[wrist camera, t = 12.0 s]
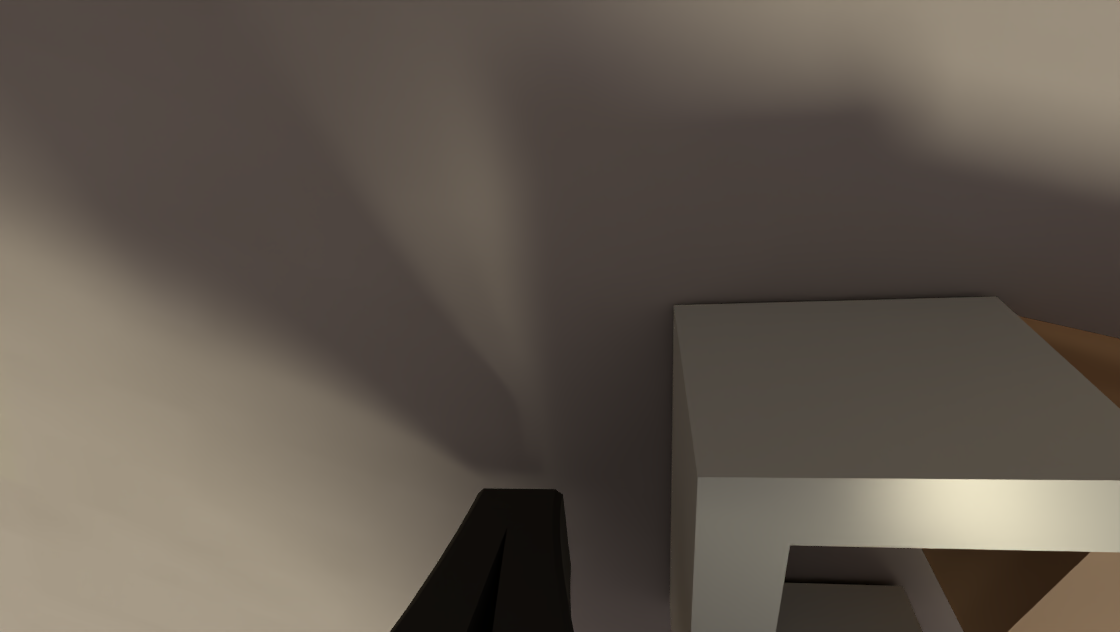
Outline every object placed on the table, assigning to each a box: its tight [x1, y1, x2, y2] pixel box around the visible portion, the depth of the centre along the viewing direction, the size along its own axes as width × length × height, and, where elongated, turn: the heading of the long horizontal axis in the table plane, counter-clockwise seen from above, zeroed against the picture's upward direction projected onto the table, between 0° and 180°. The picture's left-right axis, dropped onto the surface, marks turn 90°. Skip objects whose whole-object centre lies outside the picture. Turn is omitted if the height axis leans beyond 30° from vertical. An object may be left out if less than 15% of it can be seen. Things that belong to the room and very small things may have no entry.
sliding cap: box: [670, 296, 1120, 632], centre depth 9 cm, size 8×4×4 cm, turn 5°
